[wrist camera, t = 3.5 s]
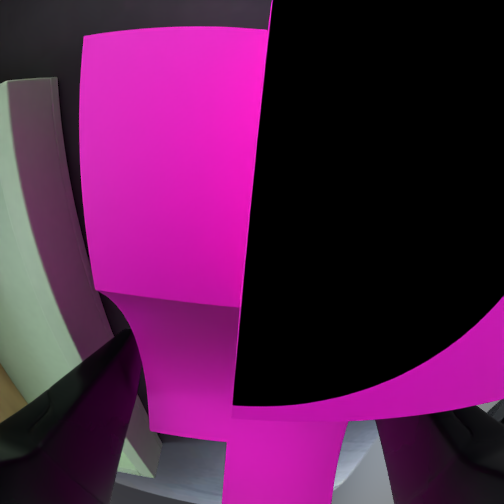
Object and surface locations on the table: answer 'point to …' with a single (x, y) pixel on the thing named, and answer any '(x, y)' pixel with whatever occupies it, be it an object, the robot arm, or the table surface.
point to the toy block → (301, 223)
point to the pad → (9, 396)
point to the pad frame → (49, 262)
